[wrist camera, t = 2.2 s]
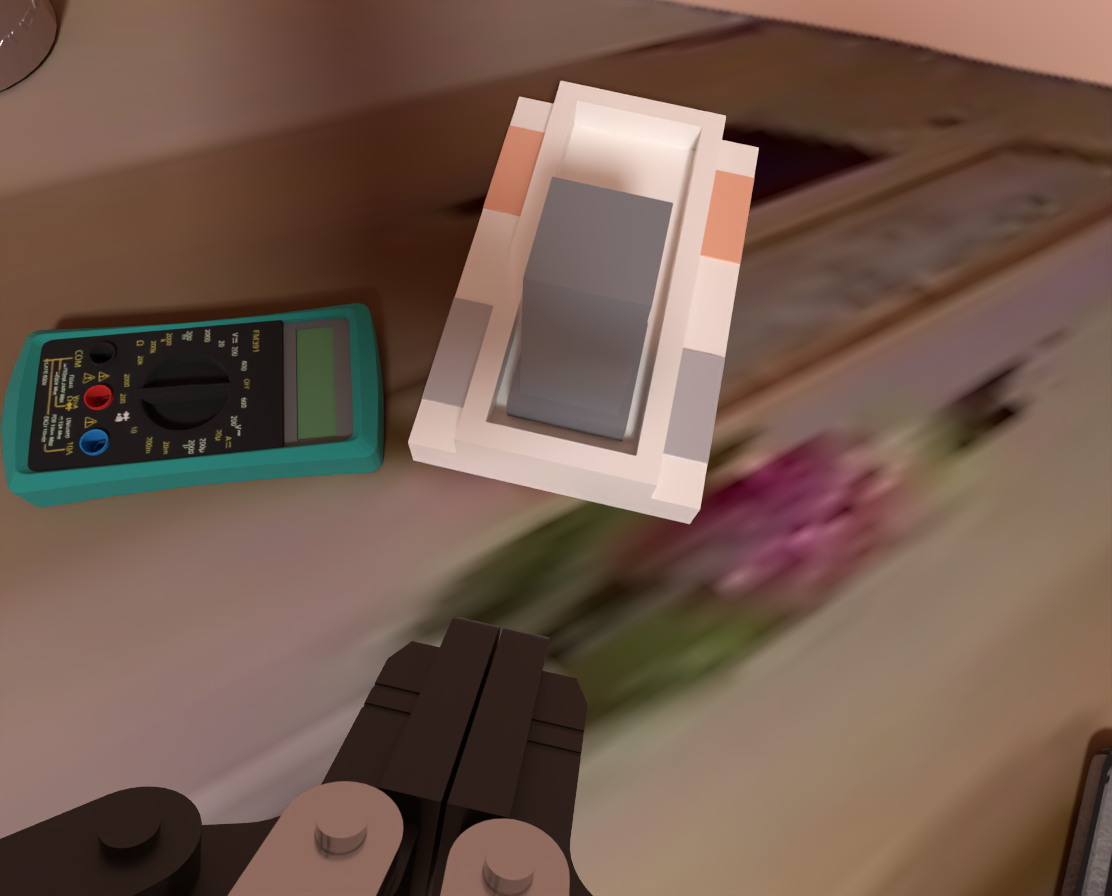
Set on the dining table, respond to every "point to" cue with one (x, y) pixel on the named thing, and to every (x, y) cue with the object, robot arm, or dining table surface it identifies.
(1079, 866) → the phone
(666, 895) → the dining table surface
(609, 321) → the slider tab
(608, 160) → the switch housing
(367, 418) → the digital multimeter
